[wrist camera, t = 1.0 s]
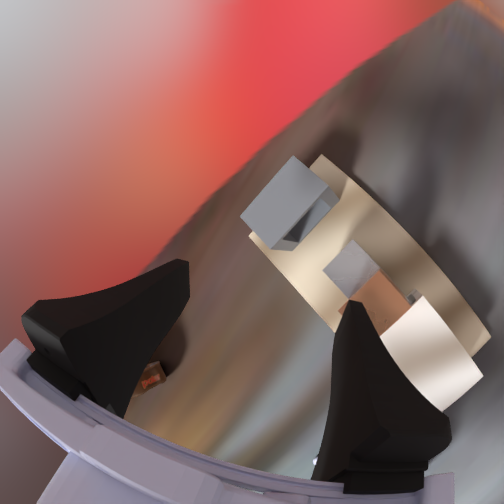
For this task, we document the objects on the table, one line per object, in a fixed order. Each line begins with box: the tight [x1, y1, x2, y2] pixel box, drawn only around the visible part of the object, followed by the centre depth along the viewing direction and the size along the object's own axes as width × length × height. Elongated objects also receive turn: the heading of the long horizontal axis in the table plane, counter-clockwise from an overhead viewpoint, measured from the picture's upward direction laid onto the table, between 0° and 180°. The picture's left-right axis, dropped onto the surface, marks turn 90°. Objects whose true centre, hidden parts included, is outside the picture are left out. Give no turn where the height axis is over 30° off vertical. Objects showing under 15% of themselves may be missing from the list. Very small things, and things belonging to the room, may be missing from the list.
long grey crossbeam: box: [322, 239, 413, 336], centre depth 15 cm, size 14×3×8 cm, turn 44°
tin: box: [131, 361, 166, 399], centre depth 30 cm, size 15×3×8 cm, turn 116°
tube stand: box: [249, 154, 491, 412], centre depth 19 cm, size 22×10×5 cm, turn 44°
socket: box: [240, 156, 340, 251], centre depth 21 cm, size 4×6×5 cm, turn 134°
